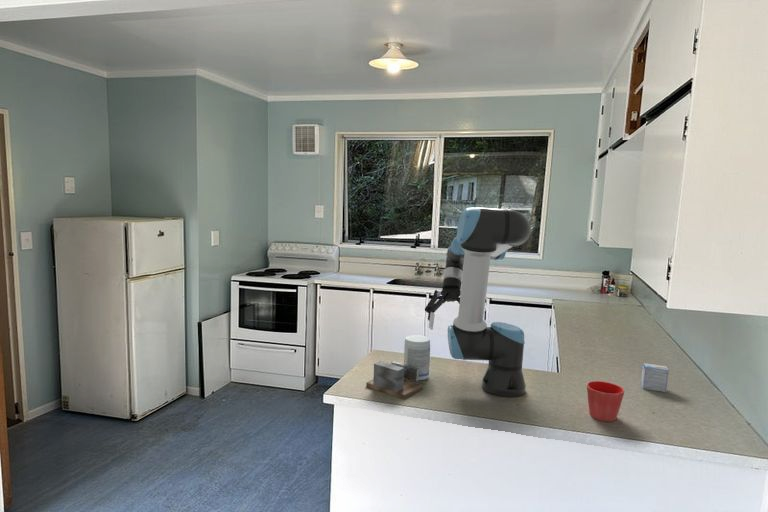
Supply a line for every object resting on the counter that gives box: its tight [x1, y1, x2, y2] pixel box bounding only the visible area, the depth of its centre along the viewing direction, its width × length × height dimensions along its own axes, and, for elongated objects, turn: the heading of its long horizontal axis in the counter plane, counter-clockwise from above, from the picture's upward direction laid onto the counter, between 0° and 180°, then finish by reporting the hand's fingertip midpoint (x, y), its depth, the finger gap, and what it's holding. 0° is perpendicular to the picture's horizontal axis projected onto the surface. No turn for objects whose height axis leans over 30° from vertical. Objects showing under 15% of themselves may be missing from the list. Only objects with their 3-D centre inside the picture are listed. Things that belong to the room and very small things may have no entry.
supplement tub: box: [403, 334, 431, 381], centre depth 179 cm, size 10×10×15 cm
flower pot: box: [586, 380, 625, 422], centre depth 152 cm, size 11×11×10 cm
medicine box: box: [640, 363, 670, 393], centre depth 177 cm, size 8×4×9 cm, turn 71°
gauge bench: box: [365, 360, 424, 400], centre depth 168 cm, size 16×12×9 cm
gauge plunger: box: [390, 360, 420, 383], centre depth 171 cm, size 12×6×4 cm, turn 54°
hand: (446, 328), depth 190 cm, fingers open, 13 cm apart
